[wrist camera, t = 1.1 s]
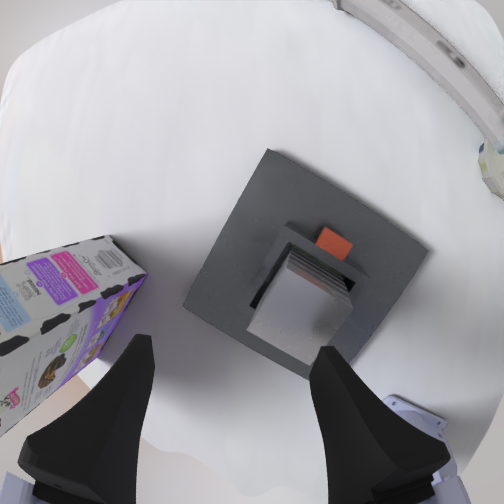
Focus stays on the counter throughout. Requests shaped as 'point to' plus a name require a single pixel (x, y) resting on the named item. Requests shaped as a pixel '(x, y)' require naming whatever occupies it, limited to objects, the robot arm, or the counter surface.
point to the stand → (311, 241)
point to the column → (301, 306)
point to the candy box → (58, 318)
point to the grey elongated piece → (442, 74)
